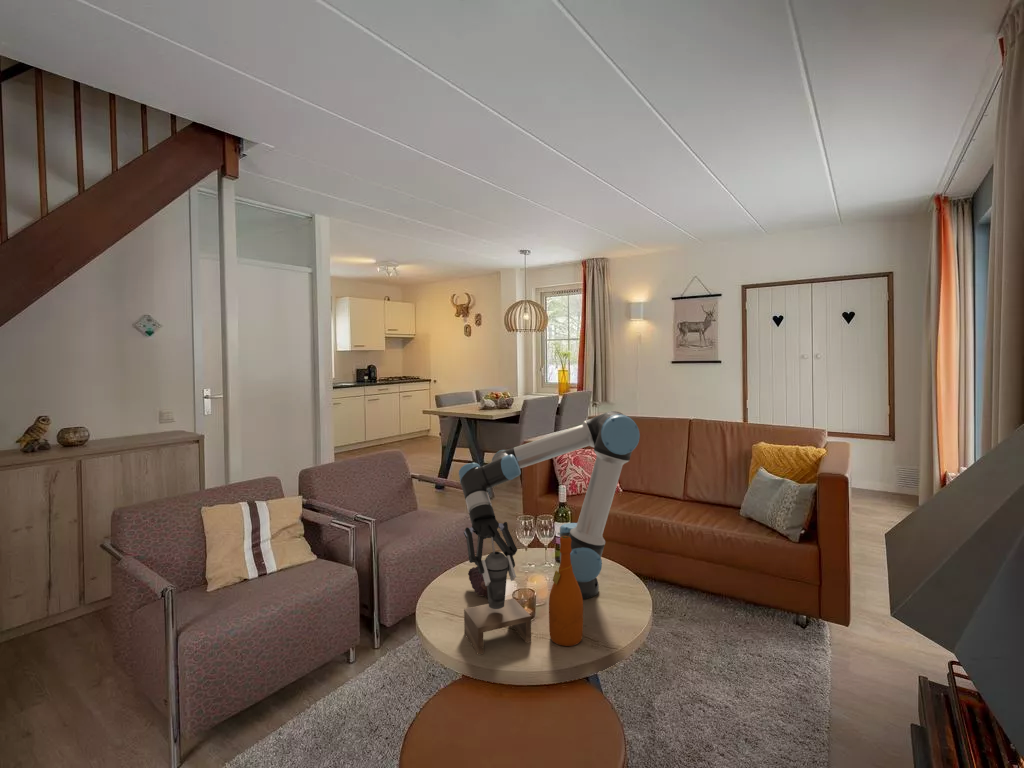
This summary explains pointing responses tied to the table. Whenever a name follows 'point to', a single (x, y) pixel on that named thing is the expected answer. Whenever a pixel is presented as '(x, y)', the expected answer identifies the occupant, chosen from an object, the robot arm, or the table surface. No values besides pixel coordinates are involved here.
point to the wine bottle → (565, 601)
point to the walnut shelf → (495, 622)
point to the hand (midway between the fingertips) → (500, 581)
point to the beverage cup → (496, 578)
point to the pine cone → (477, 581)
